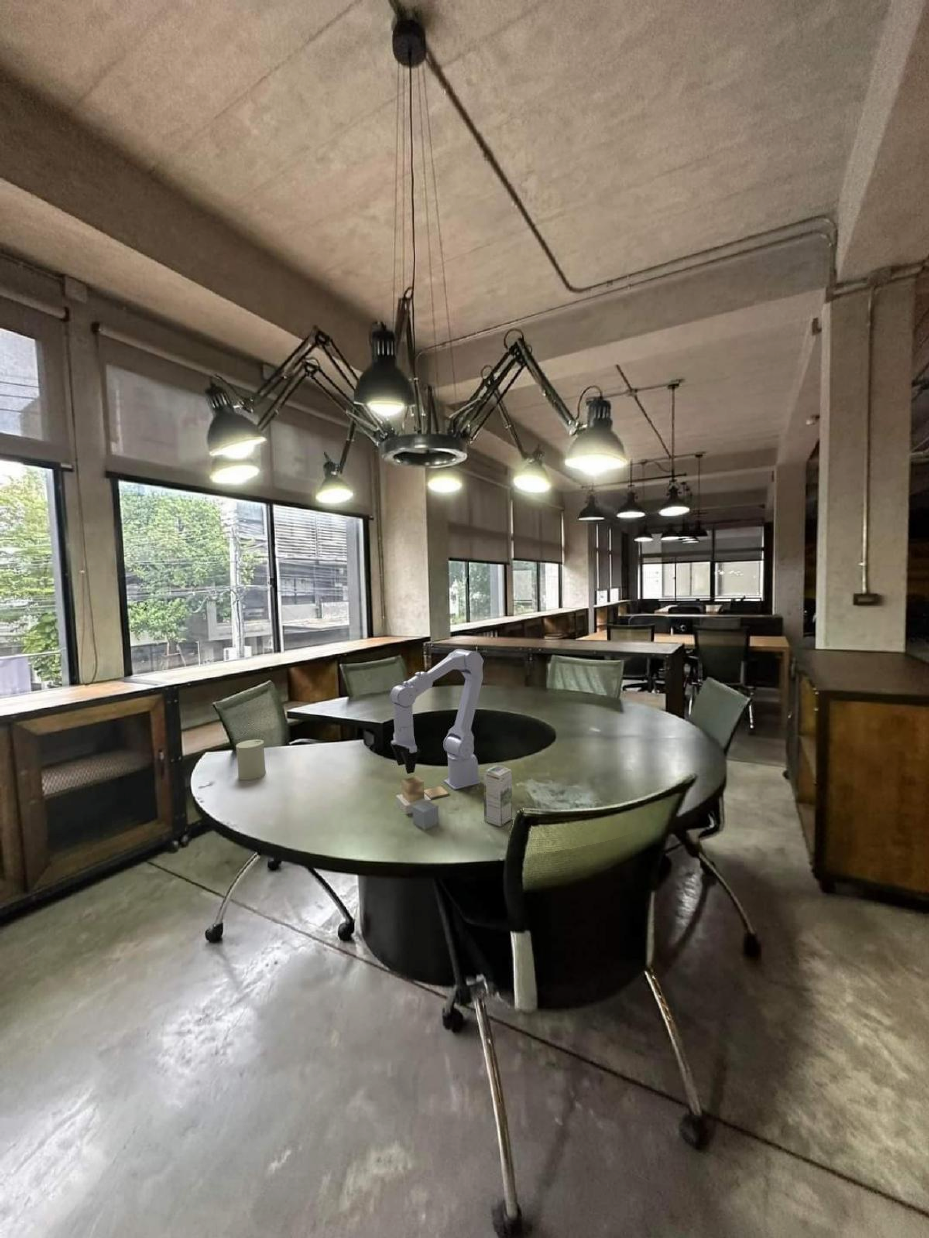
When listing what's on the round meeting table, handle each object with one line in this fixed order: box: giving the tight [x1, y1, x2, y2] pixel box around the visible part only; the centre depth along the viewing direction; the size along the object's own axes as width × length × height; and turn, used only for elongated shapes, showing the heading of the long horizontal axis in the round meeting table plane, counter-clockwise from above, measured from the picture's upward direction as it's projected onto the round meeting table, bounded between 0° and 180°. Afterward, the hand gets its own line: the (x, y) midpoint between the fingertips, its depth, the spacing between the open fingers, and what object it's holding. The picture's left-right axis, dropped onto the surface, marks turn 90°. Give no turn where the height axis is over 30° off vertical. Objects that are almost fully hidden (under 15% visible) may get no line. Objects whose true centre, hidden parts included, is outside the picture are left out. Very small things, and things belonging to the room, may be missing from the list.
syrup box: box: [482, 765, 513, 828], centre depth 136 cm, size 6×6×14 cm
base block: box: [395, 793, 432, 815], centre depth 147 cm, size 8×8×3 cm
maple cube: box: [401, 775, 425, 802], centre depth 147 cm, size 5×5×5 cm
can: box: [235, 738, 267, 781], centre depth 175 cm, size 9×9×12 cm
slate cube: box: [412, 801, 440, 831], centre depth 136 cm, size 5×5×5 cm
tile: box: [424, 785, 451, 801], centre depth 155 cm, size 7×7×1 cm
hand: (405, 768), depth 150 cm, fingers open, 7 cm apart
